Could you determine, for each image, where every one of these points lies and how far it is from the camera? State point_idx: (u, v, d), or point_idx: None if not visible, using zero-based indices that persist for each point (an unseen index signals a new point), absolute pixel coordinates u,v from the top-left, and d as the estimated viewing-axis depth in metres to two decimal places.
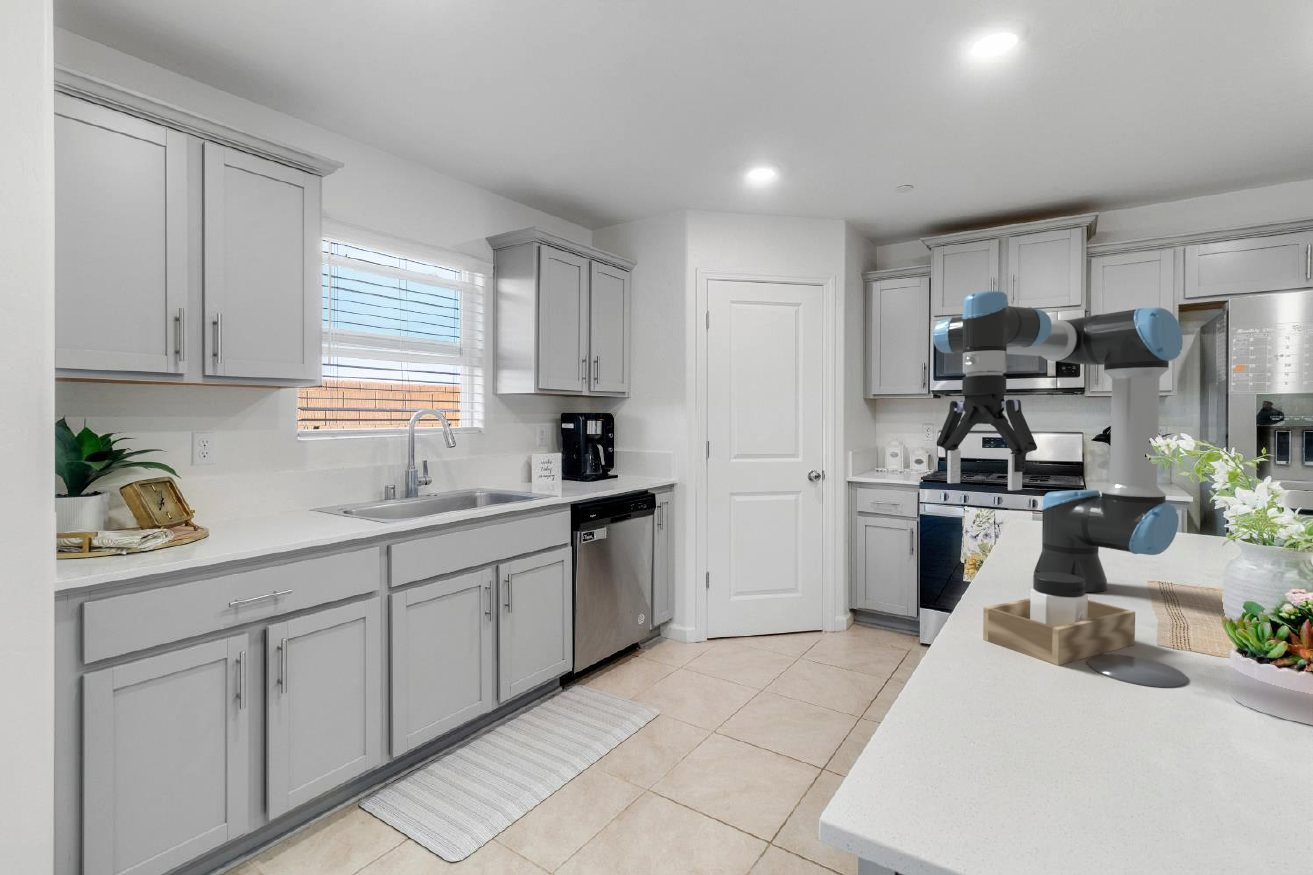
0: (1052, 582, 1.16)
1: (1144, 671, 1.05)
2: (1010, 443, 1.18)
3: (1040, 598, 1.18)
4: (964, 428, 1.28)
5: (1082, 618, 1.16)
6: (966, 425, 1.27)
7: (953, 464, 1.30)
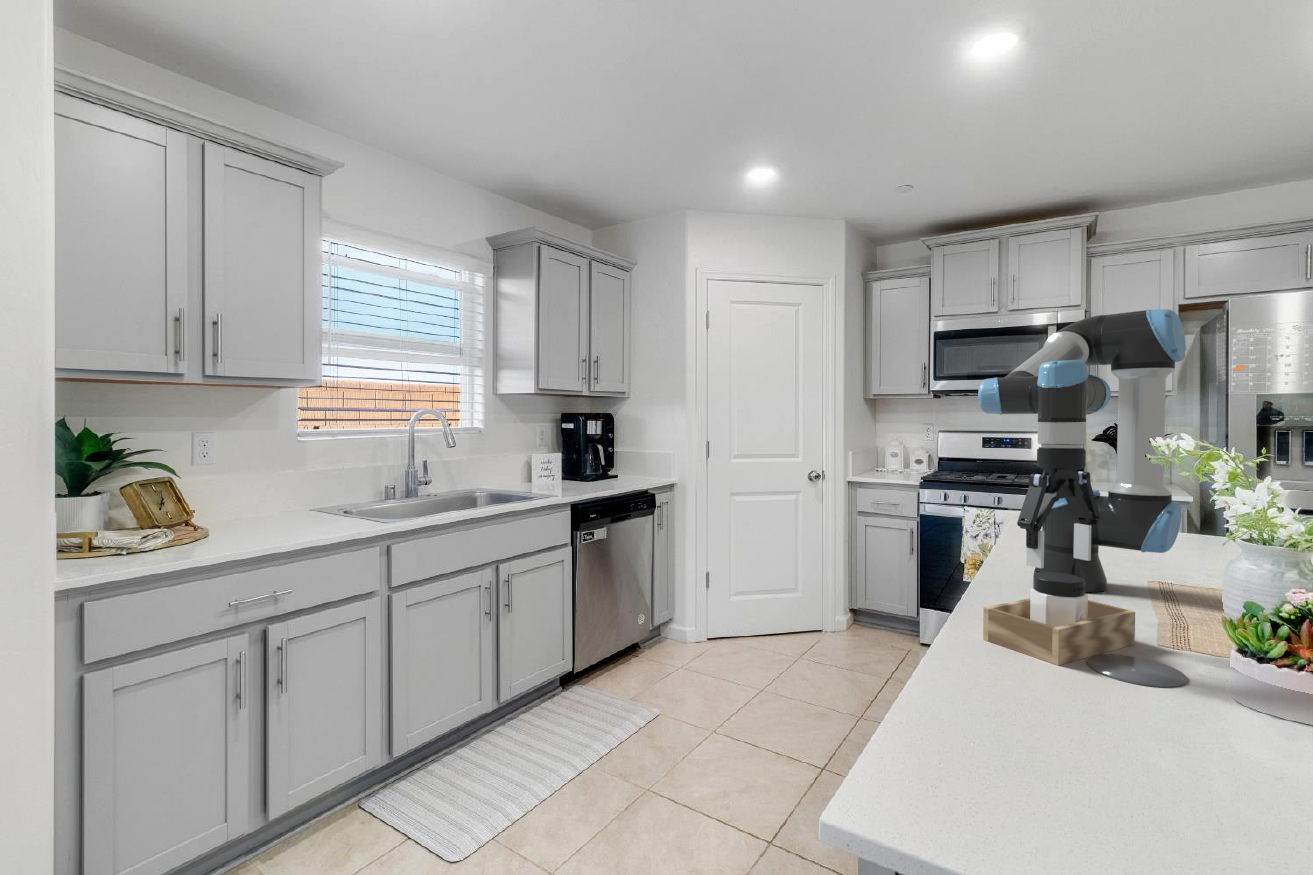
0: (1052, 582, 1.16)
1: (1144, 671, 1.05)
2: None
3: (1040, 598, 1.18)
4: (1068, 500, 1.21)
5: (1082, 618, 1.16)
6: (1066, 497, 1.21)
7: (1077, 538, 1.22)
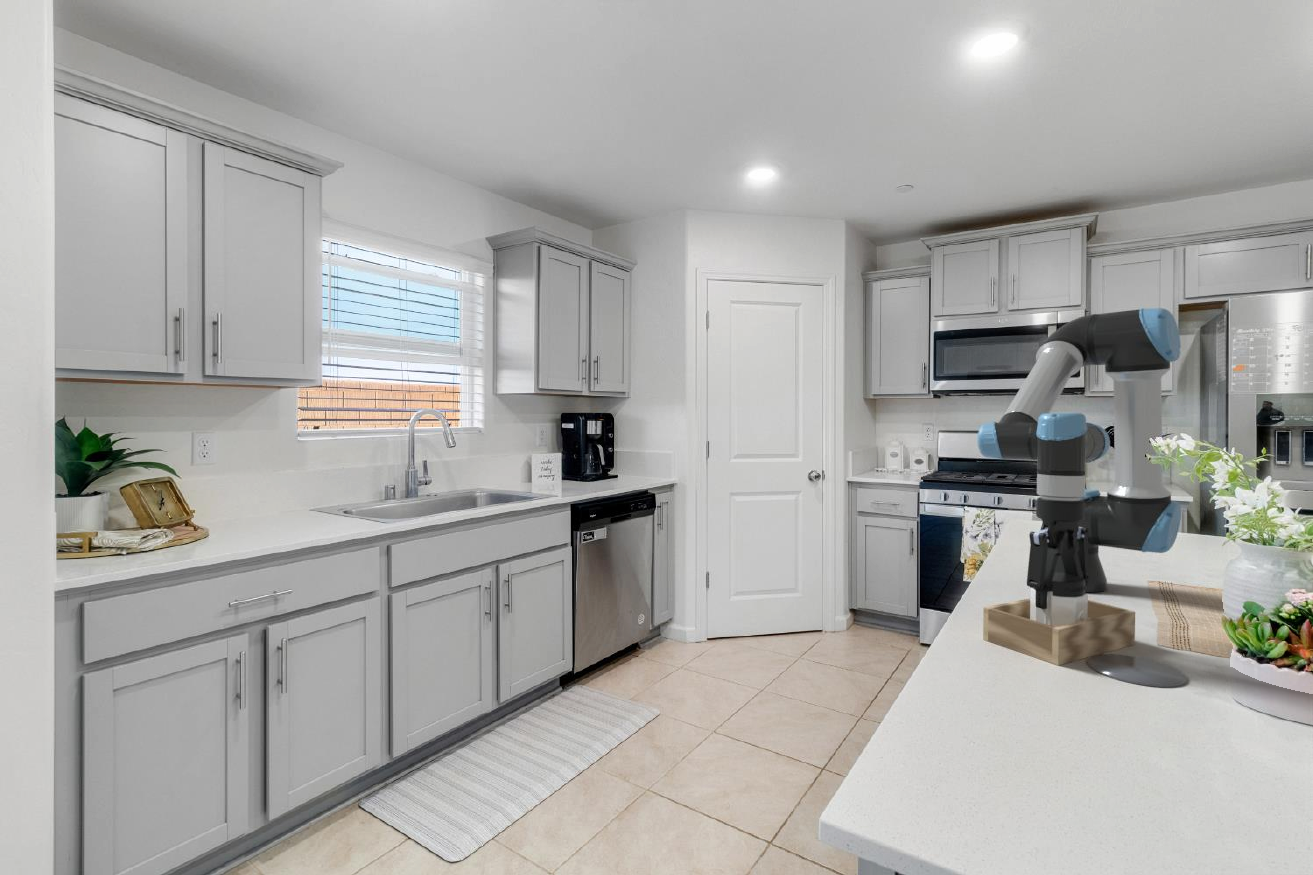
0: (1052, 582, 1.16)
1: (1144, 671, 1.05)
2: None
3: None
4: (1063, 554, 1.21)
5: (1082, 618, 1.16)
6: None
7: None
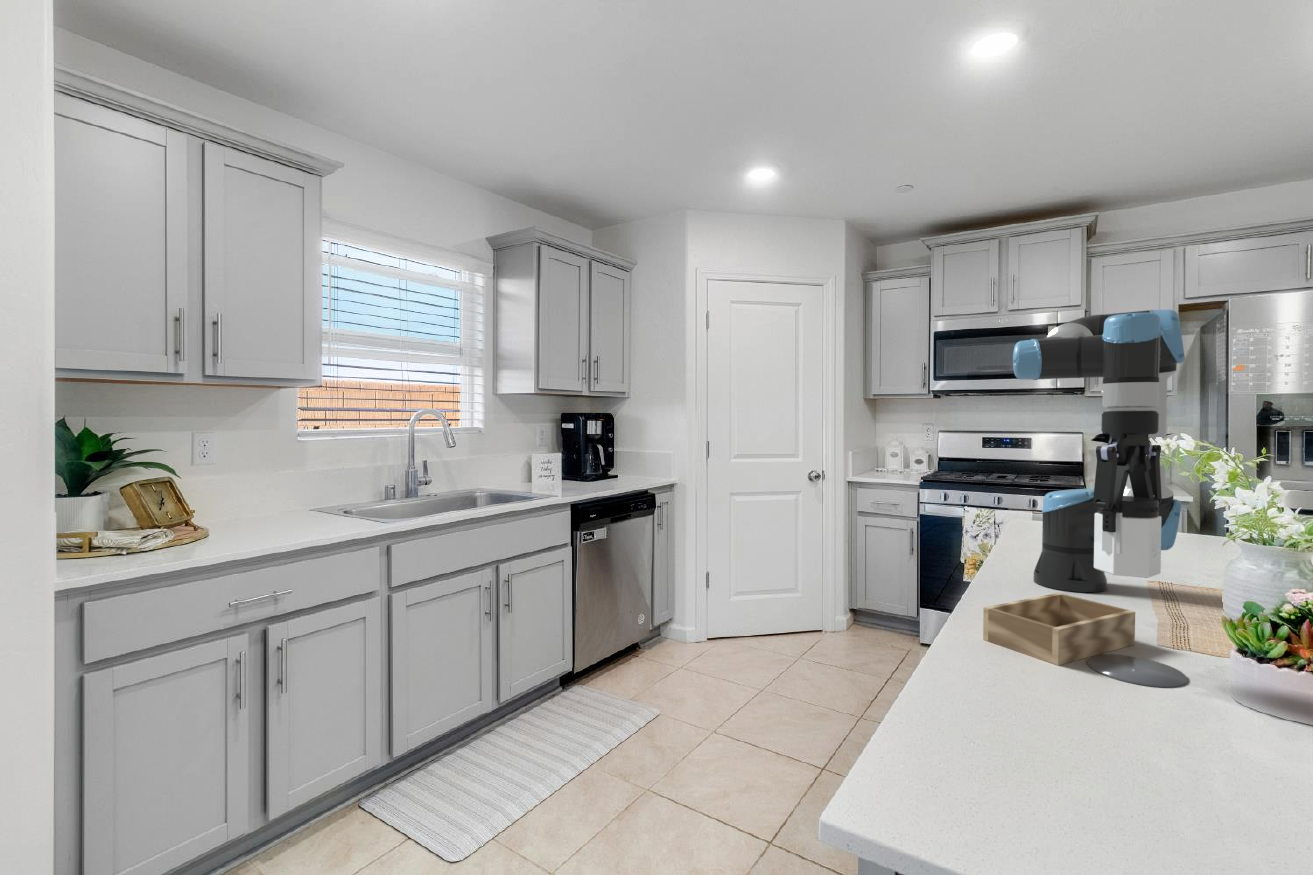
0: (1121, 502, 1.04)
1: (1144, 671, 1.05)
2: None
3: None
4: (1132, 475, 1.08)
5: (1156, 542, 1.03)
6: None
7: None
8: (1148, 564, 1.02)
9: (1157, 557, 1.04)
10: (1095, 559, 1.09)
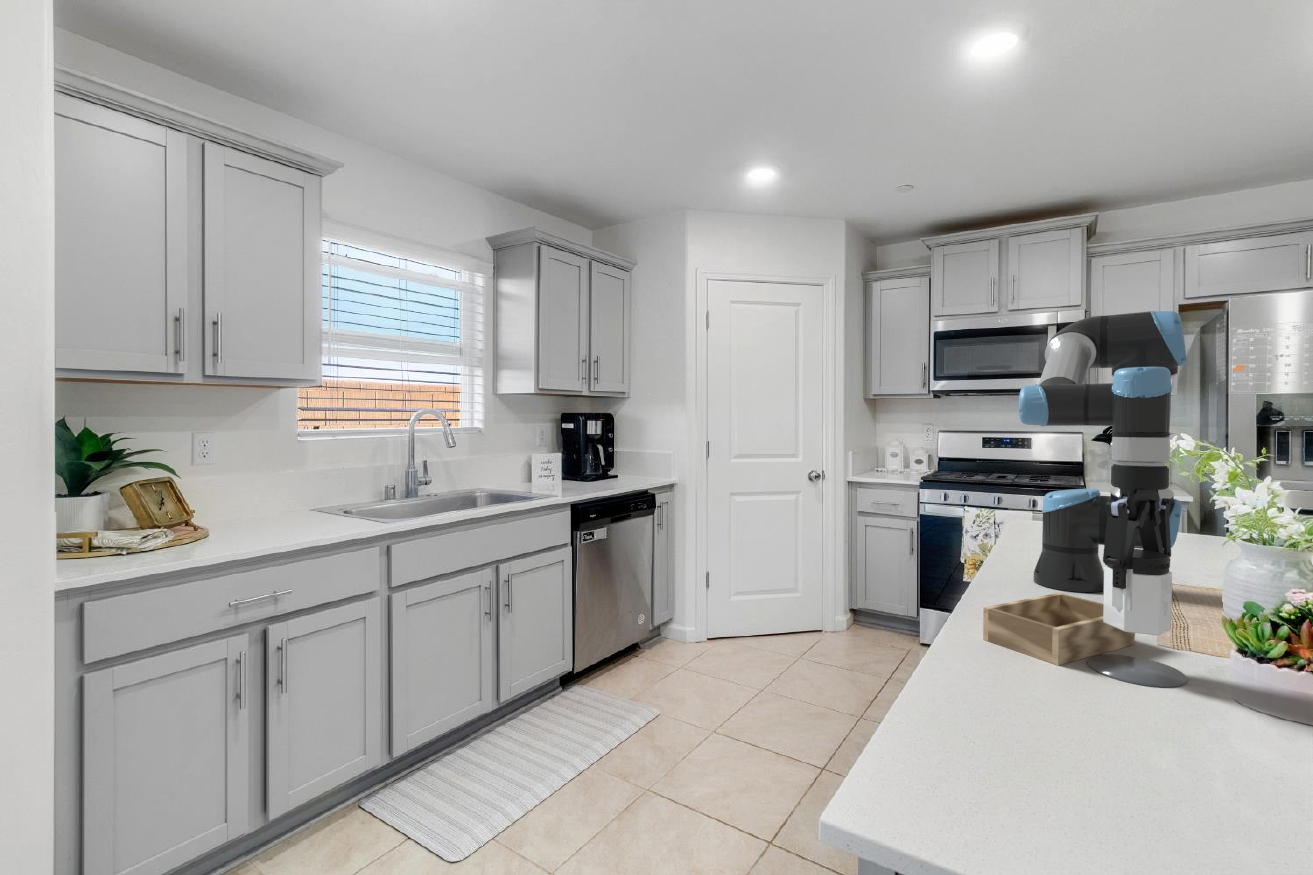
0: (1132, 558, 1.02)
1: (1144, 671, 1.05)
2: None
3: None
4: (1141, 528, 1.07)
5: (1166, 599, 1.02)
6: None
7: None
8: (1159, 622, 1.01)
9: (1168, 614, 1.03)
10: (1105, 613, 1.07)
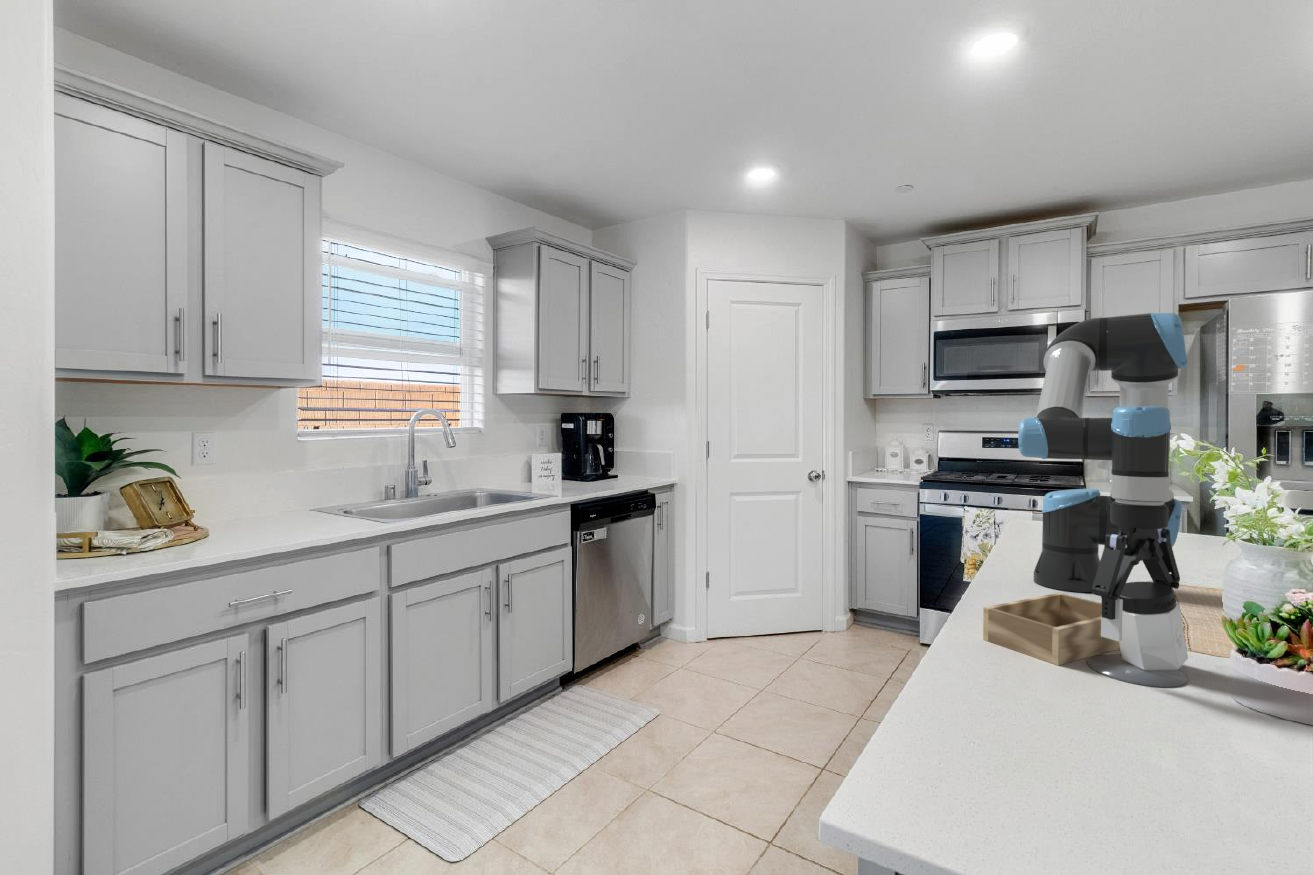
0: (1139, 600, 1.04)
1: (1144, 671, 1.05)
2: None
3: (1127, 618, 1.06)
4: (1145, 561, 1.08)
5: (1179, 632, 1.04)
6: None
7: None
8: (1176, 657, 1.03)
9: (1182, 645, 1.05)
10: (1122, 651, 1.09)
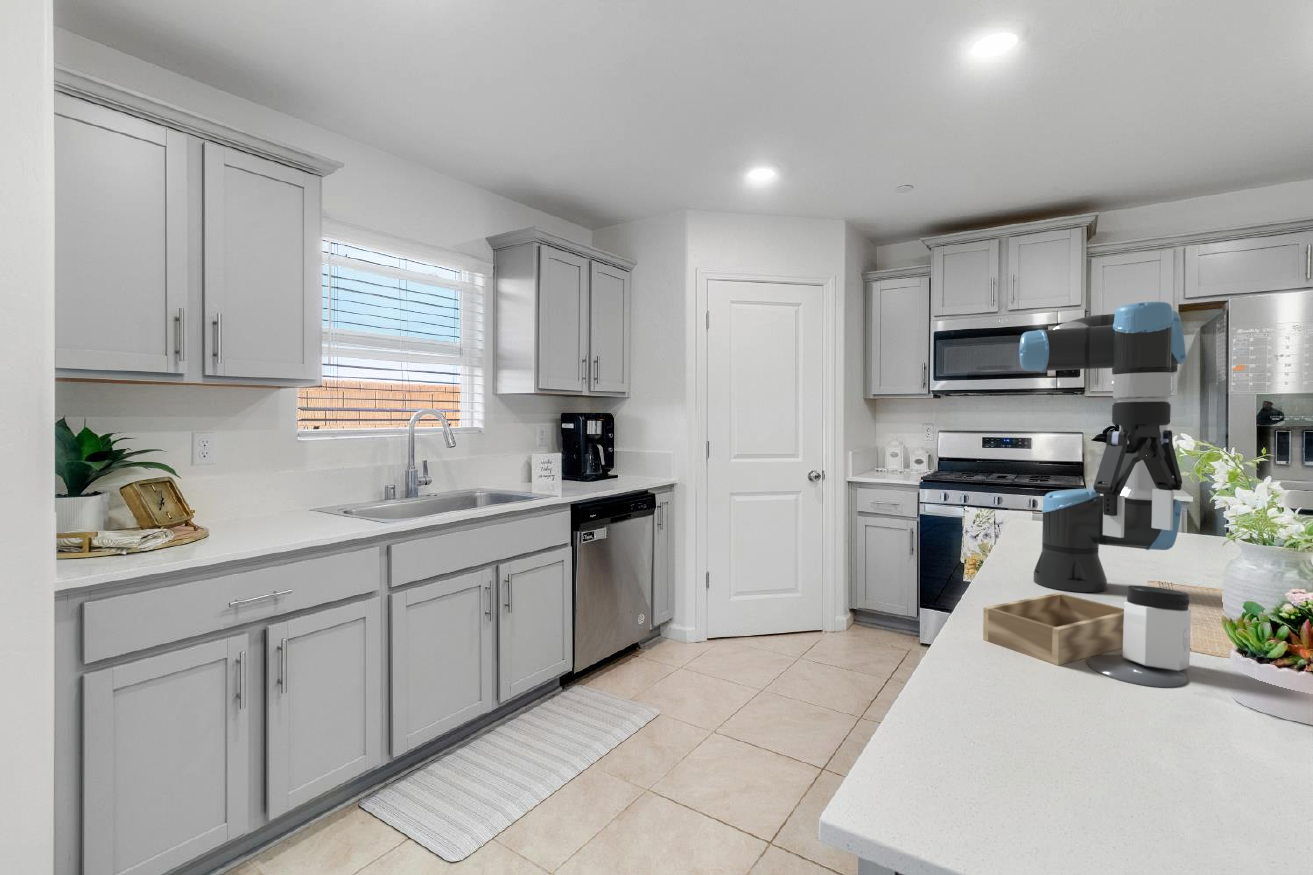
0: (1153, 593, 1.06)
1: (1144, 671, 1.05)
2: None
3: (1138, 611, 1.07)
4: (1147, 463, 1.07)
5: (1186, 635, 1.05)
6: (1145, 459, 1.07)
7: (1156, 505, 1.09)
8: (1179, 657, 1.03)
9: (1187, 650, 1.05)
10: (1124, 648, 1.09)
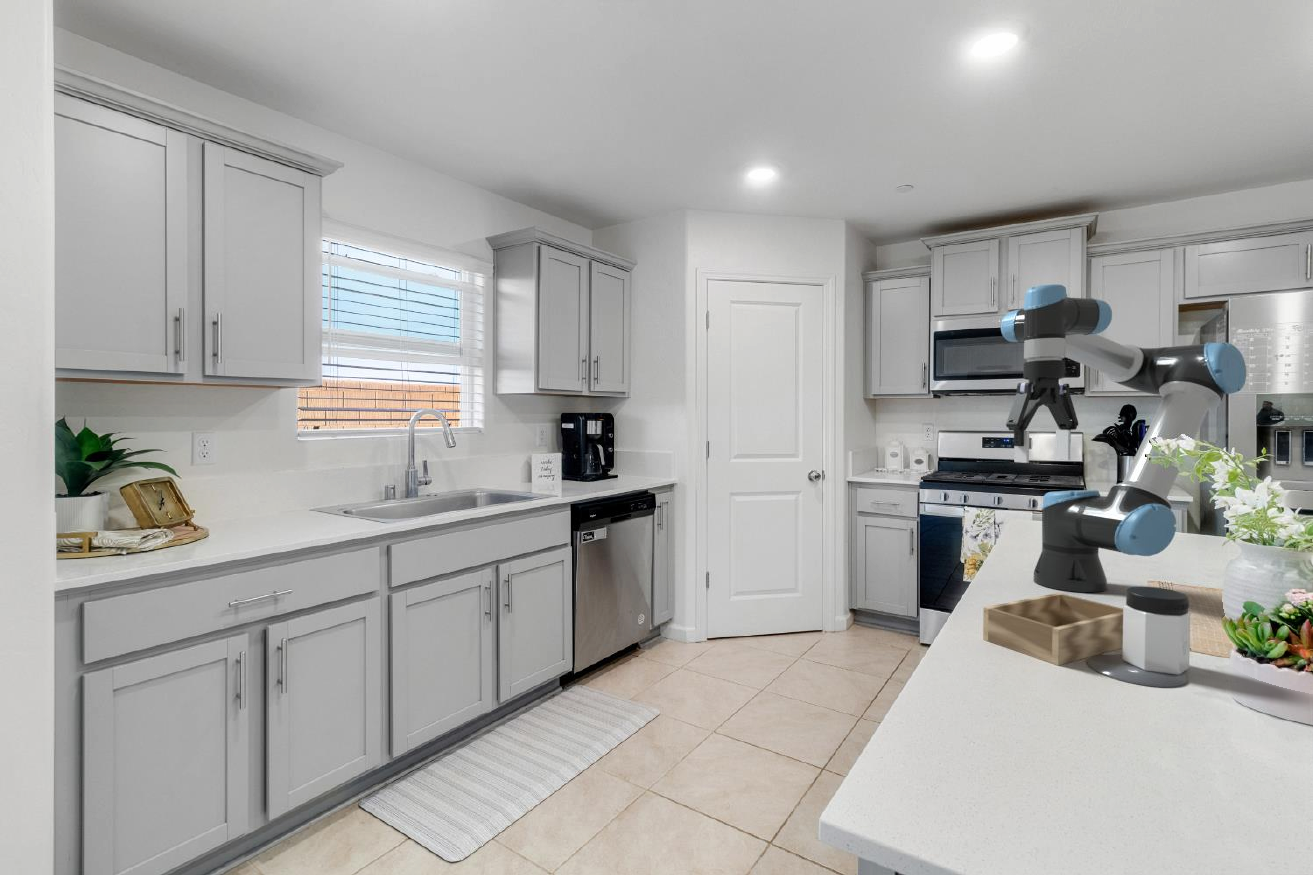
0: (1153, 599, 1.04)
1: (1144, 671, 1.05)
2: None
3: (1137, 616, 1.06)
4: (1051, 409, 1.40)
5: (1186, 639, 1.04)
6: (1049, 406, 1.40)
7: (1059, 442, 1.41)
8: (1179, 661, 1.03)
9: (1186, 653, 1.05)
10: (1124, 651, 1.09)
